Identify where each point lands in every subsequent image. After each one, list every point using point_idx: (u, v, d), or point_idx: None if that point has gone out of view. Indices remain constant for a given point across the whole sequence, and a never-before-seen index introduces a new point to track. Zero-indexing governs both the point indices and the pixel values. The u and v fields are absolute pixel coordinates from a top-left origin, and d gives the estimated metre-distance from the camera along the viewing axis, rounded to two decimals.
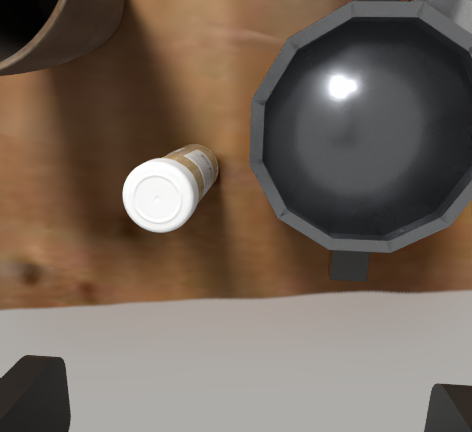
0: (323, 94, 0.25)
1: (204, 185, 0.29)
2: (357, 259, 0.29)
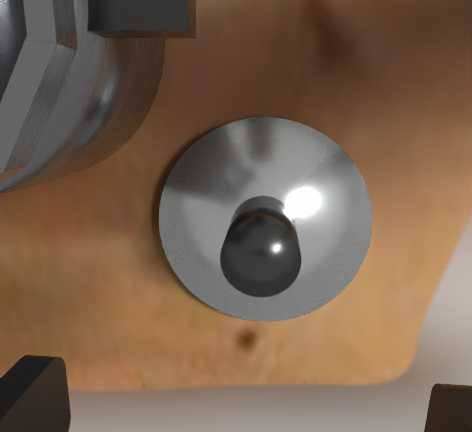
0: None
1: None
2: None
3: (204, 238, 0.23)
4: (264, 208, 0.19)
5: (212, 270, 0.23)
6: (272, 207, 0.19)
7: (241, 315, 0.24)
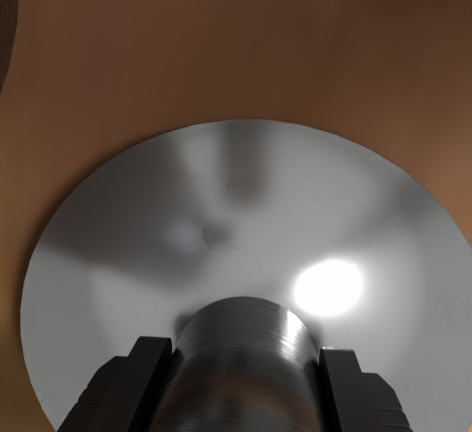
0: None
1: None
2: None
3: None
4: (246, 368, 0.07)
5: None
6: (268, 356, 0.07)
7: None
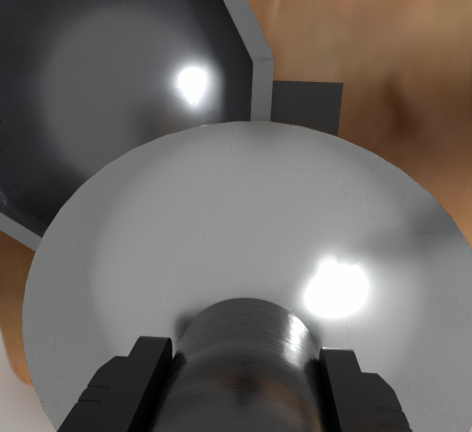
0: (156, 30, 0.17)
1: None
2: None
3: None
4: (249, 369, 0.07)
5: None
6: (270, 358, 0.07)
7: None
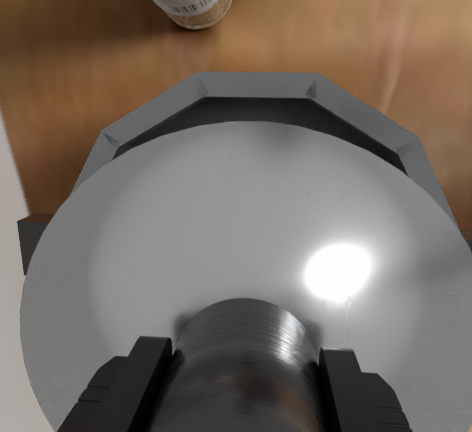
0: None
1: None
2: None
3: None
4: (247, 370, 0.07)
5: None
6: (268, 358, 0.07)
7: None
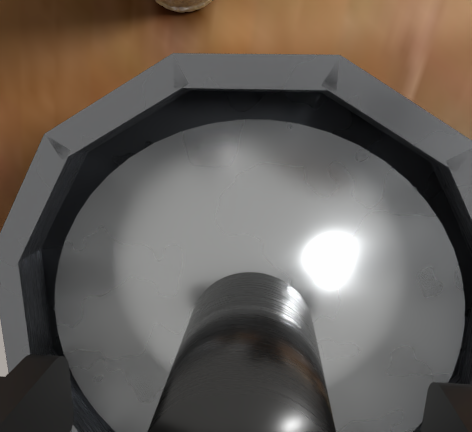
0: None
1: None
2: None
3: (140, 343, 0.12)
4: (255, 323, 0.08)
5: (156, 399, 0.13)
6: (272, 316, 0.09)
7: None
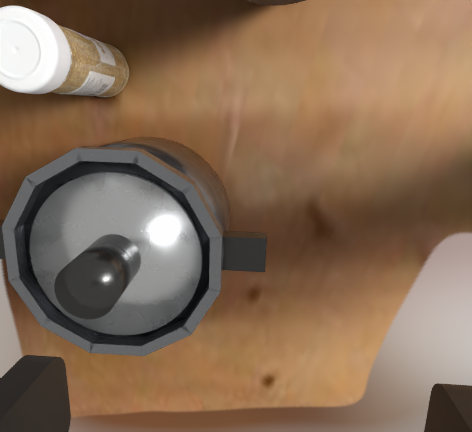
0: None
1: (61, 93, 0.27)
2: None
3: None
4: (100, 248, 0.24)
5: None
6: (109, 247, 0.25)
7: (100, 330, 0.29)
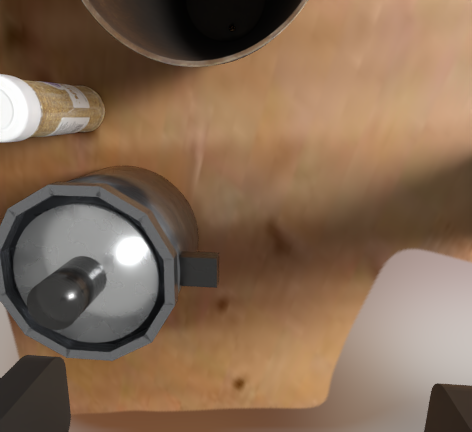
0: None
1: (39, 136, 0.32)
2: None
3: None
4: (67, 269, 0.29)
5: None
6: (76, 268, 0.29)
7: (75, 338, 0.33)
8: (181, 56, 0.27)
